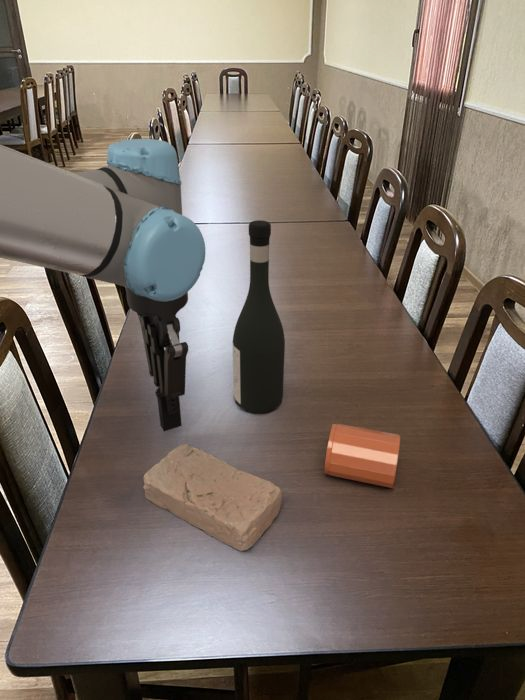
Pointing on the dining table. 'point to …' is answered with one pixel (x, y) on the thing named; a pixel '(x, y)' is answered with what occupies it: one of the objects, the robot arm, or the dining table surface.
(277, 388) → the wine bottle
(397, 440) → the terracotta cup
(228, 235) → the dining table surface
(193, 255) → the robot arm
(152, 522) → the dining table surface
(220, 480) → the brick
